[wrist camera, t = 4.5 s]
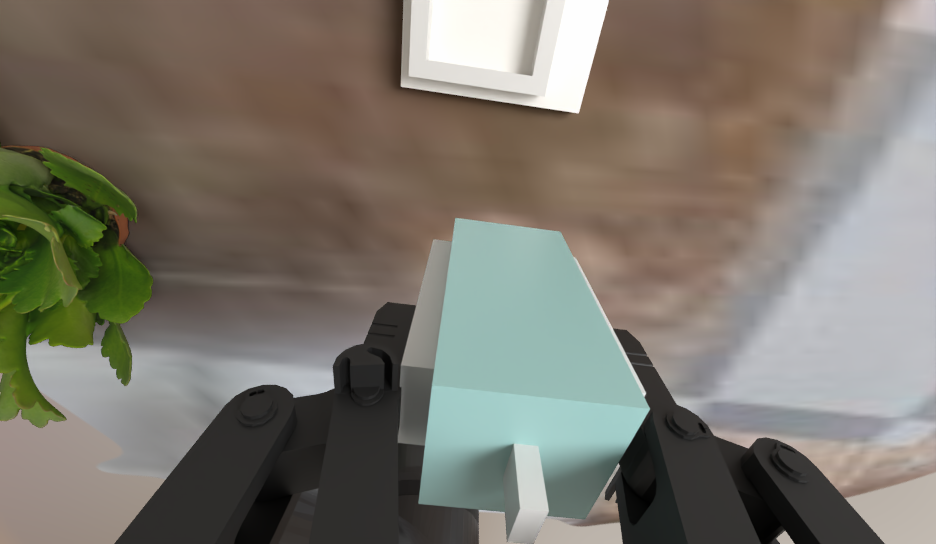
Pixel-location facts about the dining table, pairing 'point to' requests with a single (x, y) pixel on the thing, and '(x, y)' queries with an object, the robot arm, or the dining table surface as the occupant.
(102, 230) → the potted flower
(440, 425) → the block
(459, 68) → the outlet plate
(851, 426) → the dining table surface
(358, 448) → the robot arm
